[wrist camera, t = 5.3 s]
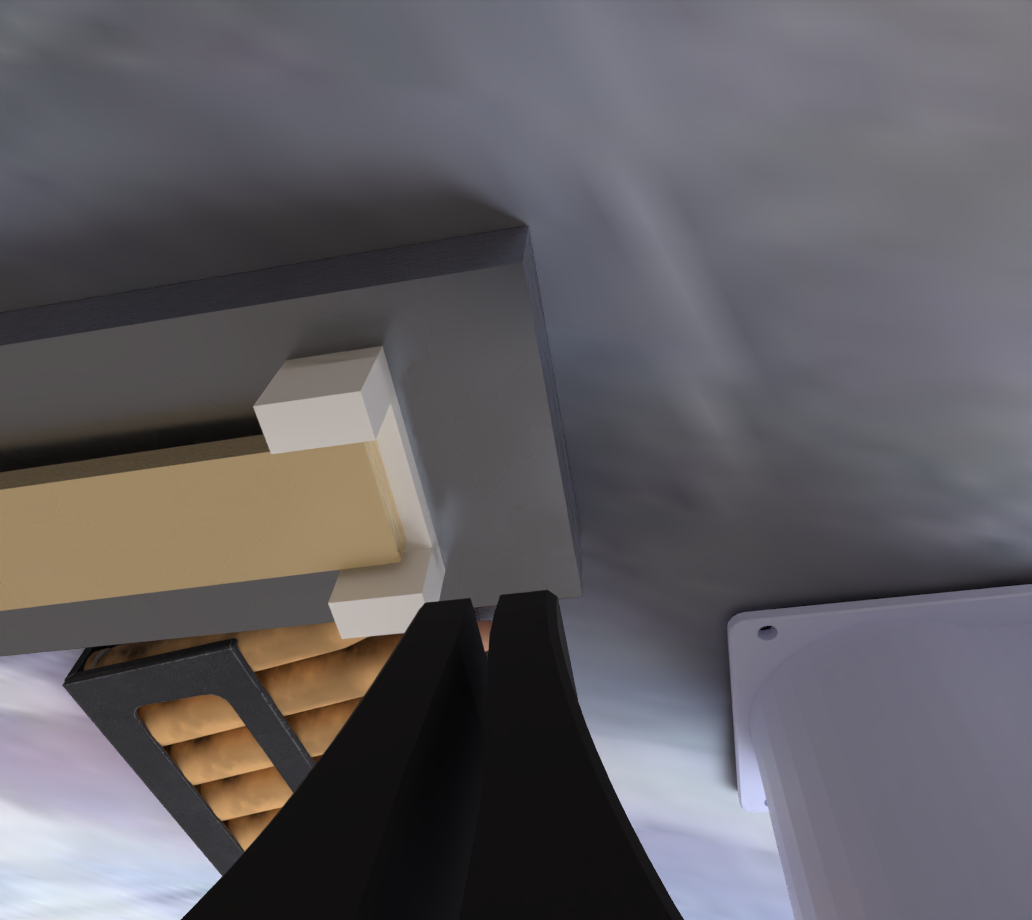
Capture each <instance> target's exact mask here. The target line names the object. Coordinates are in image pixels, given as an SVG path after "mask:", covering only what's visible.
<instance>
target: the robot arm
mask: <svg viewBox="0 0 1032 920" xmlns="http://www.w3.org/2000/svg"><path fill="white" fill-rule="evenodd" d="M764 626H773V627H772V628H770V629H768V630H759V629H761V628H762V627H764ZM727 634H728V649H729V665H730V680H731V696H732V711H733V726H734V742H735V757H736V773H737V788H738V797H739V802H740V805H741V807H742V808H743V809H744V810H746V811H749V812H755V813H759V812H769V813H770V818H771V822H772V826H773V830H774V834H775V838H776V843H777V847H778V851H779V855H780V859H781V864H782V868H783V872H784V876H785V880H786V884H787V889H788V893H789V897H790V901H791V905H792V909H793V914H794V918H795V920H1032V584H1026V585H1016V586H1006V587H996V588H986V589H975V590H965V591H955V592H945V593H934V594H924V595H914V596H904V597H893V598H883V599H873V600H863V601H852V602H842V603H832V604H822V605H811V606H801V607H791V608H781V609H770V610H760V611H750V612H743V613H739V614H737V615H735V616H733V617H732V618H731V619H730V621H729V622H728V626H727ZM181 920H684V919H683V917H682V916H681V914H680V912H679V911H678V909H677V908H676V906H675V904H674V903H673V901H672V899H671V897H670V896H669V894H668V892H667V890H666V888H665V887H664V885H663V883H662V881H661V879H660V878H659V876H658V874H657V872H656V870H655V869H654V867H653V865H652V863H651V861H650V860H649V858H648V856H647V854H646V852H645V850H644V848H643V846H642V844H641V843H640V841H639V839H638V837H637V835H636V833H635V831H634V829H633V827H632V825H631V823H630V821H629V819H628V817H627V815H626V813H625V811H624V809H623V807H622V805H621V803H620V801H619V799H618V797H617V795H616V792H615V790H614V788H613V786H612V784H611V782H610V780H609V777H608V775H607V773H606V770H605V768H604V766H603V764H602V761H601V759H600V757H599V754H598V752H597V750H596V748H595V745H594V743H593V740H592V738H591V735H590V733H589V730H588V728H587V725H586V722H585V720H584V717H583V714H582V711H581V708H580V706H579V703H578V698H577V692H576V687H575V682H574V677H573V672H572V667H571V662H570V657H569V652H568V647H567V642H566V637H565V632H564V627H563V622H562V617H561V611H560V606H559V601H558V596H556V595H555V594H553V593H552V592H550V591H549V590H541V591H532V592H522V593H512V594H503V595H500V597H499V600H498V604H497V607H496V610H495V613H494V617H493V622H492V626H491V630H490V634H489V652H488V661H487V657H486V653H485V650H484V646H483V642H482V638H481V635H480V631H479V627H478V623H477V620H476V616H475V612H474V608H473V605H472V601H471V598H465V599H455V600H445V601H436V602H426V603H424V604H423V606H422V607H421V608H420V609H419V610H418V612H417V614H416V615H415V617H414V618H413V620H412V621H411V623H410V625H409V626H408V628H407V630H406V631H405V633H404V634H403V636H402V638H401V639H400V641H399V642H398V644H397V646H396V647H395V649H394V650H393V652H392V654H391V655H390V657H389V658H388V660H387V661H386V663H385V665H384V666H383V668H382V669H381V671H380V672H379V674H378V675H377V677H376V678H375V680H374V682H373V683H372V685H371V686H370V688H369V689H368V691H367V692H366V693H365V695H364V696H363V698H362V699H361V701H360V702H359V704H358V705H357V707H356V708H355V710H354V711H353V712H352V714H351V715H350V717H349V718H348V720H347V721H346V723H345V724H344V726H343V727H342V729H341V730H340V731H339V733H338V734H337V736H336V737H335V738H334V740H333V741H332V743H331V744H330V745H329V747H328V748H327V749H326V751H325V752H324V753H323V755H322V756H321V757H320V759H319V760H318V761H317V762H316V764H315V765H314V766H313V768H312V769H311V770H310V772H309V773H308V774H307V776H306V777H305V778H304V780H303V781H302V782H301V784H300V785H299V786H298V788H297V789H296V790H295V792H294V793H293V794H292V795H291V797H290V798H289V799H288V800H287V802H286V803H285V804H284V805H283V807H282V808H281V809H280V810H279V812H278V813H277V814H276V815H275V816H274V818H273V819H272V820H271V821H270V823H269V824H268V825H267V826H266V827H265V828H264V830H263V831H262V832H261V833H260V834H259V836H258V837H257V838H256V839H255V840H254V841H253V843H252V844H251V845H250V846H249V847H248V848H247V849H246V850H245V852H244V853H243V854H242V855H241V856H240V857H239V858H238V860H237V861H236V862H235V863H234V864H233V865H232V866H231V867H230V869H229V870H228V871H227V872H226V873H225V874H224V875H223V876H222V877H221V878H220V880H219V881H218V882H217V883H216V884H215V885H214V886H213V887H212V888H211V889H210V890H209V891H208V892H207V893H206V894H205V895H204V896H203V897H202V898H201V899H200V900H199V901H198V903H197V904H196V905H195V906H194V907H193V908H192V909H191V910H190V911H189V912H188V913H187V914H186V915H185V916H184V917H183V918H182V919H181Z"/></svg>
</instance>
